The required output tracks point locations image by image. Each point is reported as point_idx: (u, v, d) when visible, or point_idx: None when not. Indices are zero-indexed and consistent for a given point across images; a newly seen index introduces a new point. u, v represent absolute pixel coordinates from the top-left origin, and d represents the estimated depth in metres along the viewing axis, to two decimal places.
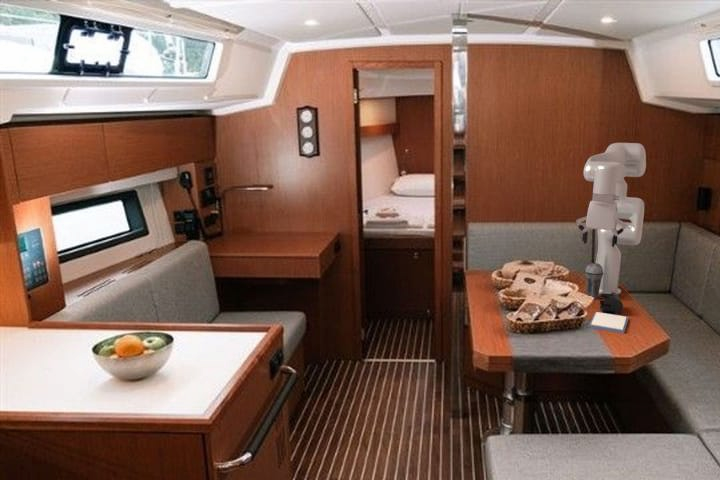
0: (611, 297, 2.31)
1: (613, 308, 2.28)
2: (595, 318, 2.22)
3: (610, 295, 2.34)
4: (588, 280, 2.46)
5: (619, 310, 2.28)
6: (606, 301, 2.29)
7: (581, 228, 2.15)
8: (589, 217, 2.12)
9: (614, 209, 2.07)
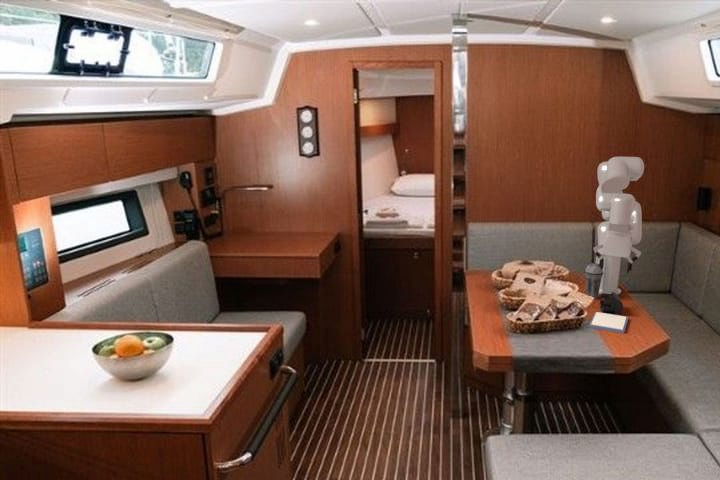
0: (611, 297, 2.31)
1: (613, 308, 2.28)
2: (595, 318, 2.22)
3: (610, 295, 2.34)
4: (588, 280, 2.46)
5: (619, 310, 2.28)
6: (606, 301, 2.29)
7: (598, 255, 2.31)
8: (606, 245, 2.27)
9: (629, 238, 2.23)
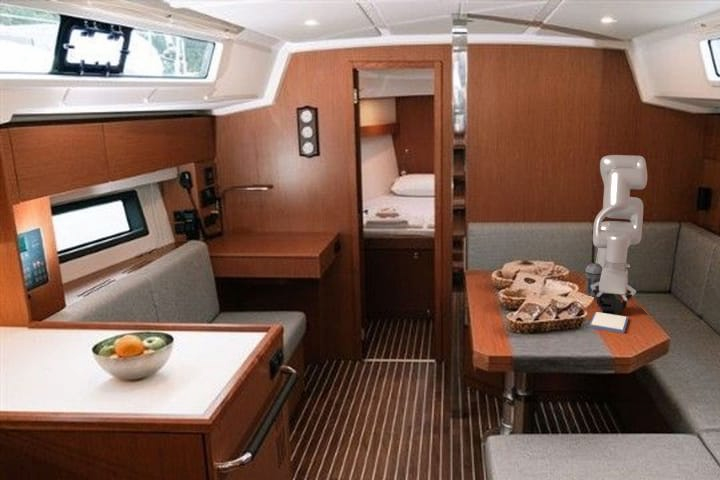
0: (611, 297, 2.31)
1: (613, 308, 2.28)
2: (595, 318, 2.22)
3: (610, 295, 2.34)
4: (588, 280, 2.46)
5: (619, 310, 2.28)
6: (606, 301, 2.29)
7: (595, 292, 2.34)
8: (602, 282, 2.31)
9: (625, 276, 2.26)
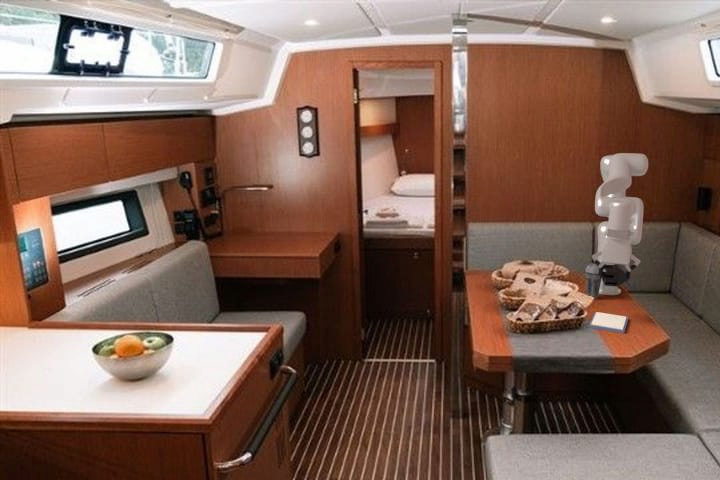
0: (614, 268, 2.18)
1: (616, 279, 2.15)
2: (595, 318, 2.22)
3: (613, 266, 2.20)
4: (588, 280, 2.46)
5: (622, 281, 2.14)
6: (608, 271, 2.15)
7: (597, 263, 2.20)
8: (604, 252, 2.17)
9: (629, 245, 2.13)
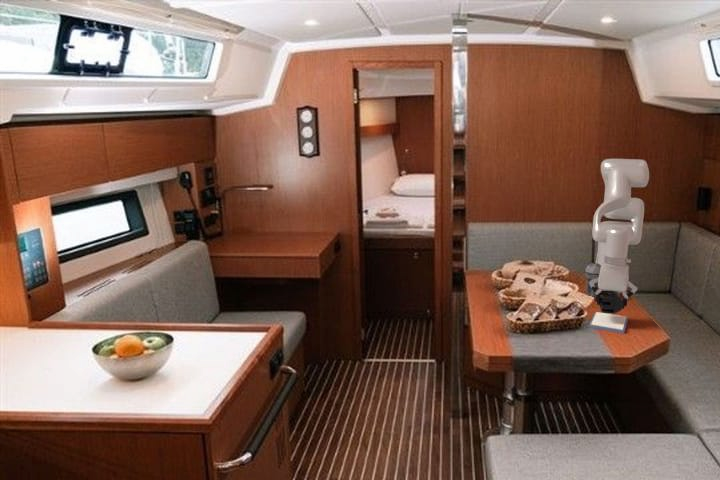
0: (611, 294, 2.17)
1: (613, 306, 2.14)
2: (595, 318, 2.22)
3: (610, 292, 2.19)
4: (588, 280, 2.46)
5: (619, 308, 2.13)
6: (605, 298, 2.14)
7: (594, 290, 2.19)
8: (601, 279, 2.16)
9: (626, 272, 2.12)
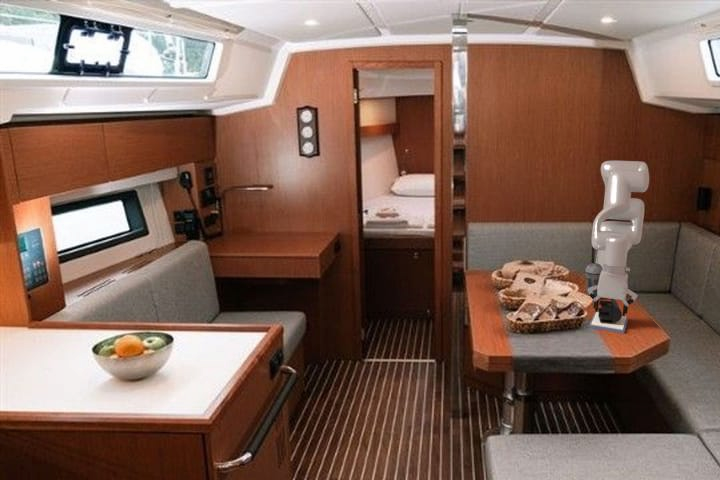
0: (610, 305, 2.18)
1: (611, 316, 2.15)
2: (595, 318, 2.22)
3: (609, 302, 2.21)
4: (588, 280, 2.46)
5: (618, 319, 2.14)
6: (604, 309, 2.16)
7: (592, 296, 2.20)
8: (601, 287, 2.17)
9: (625, 280, 2.13)
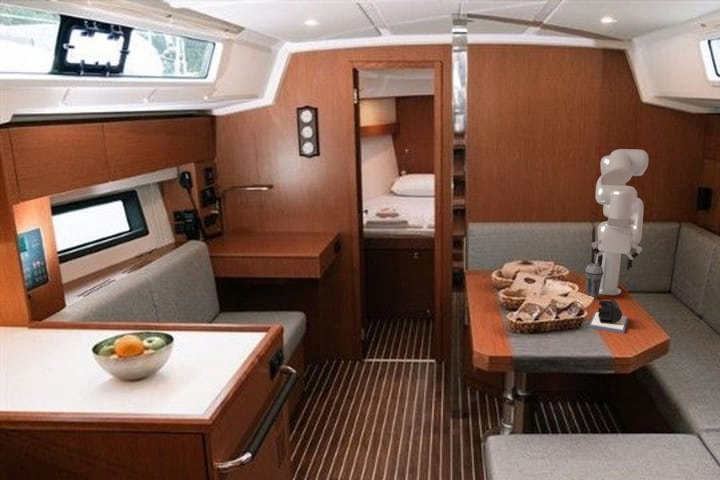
0: (610, 305, 2.18)
1: (611, 316, 2.15)
2: (595, 318, 2.22)
3: (609, 302, 2.21)
4: (588, 280, 2.46)
5: (618, 319, 2.14)
6: (604, 309, 2.16)
7: (596, 251, 2.19)
8: (605, 241, 2.15)
9: (629, 234, 2.11)
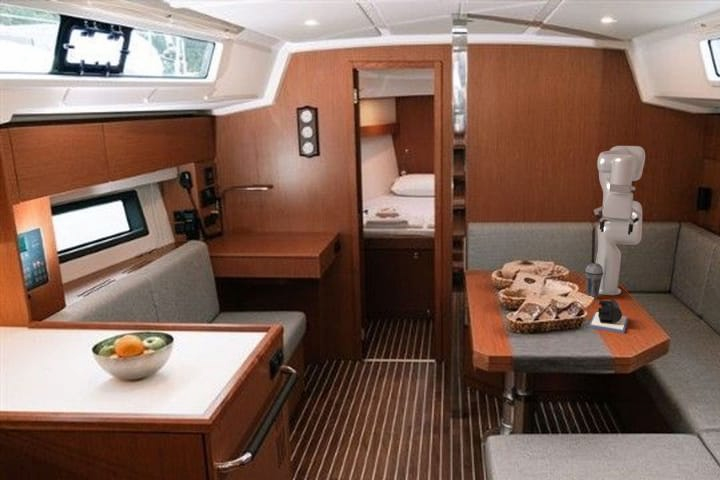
0: (610, 305, 2.18)
1: (611, 316, 2.15)
2: (595, 318, 2.22)
3: (609, 302, 2.21)
4: (588, 280, 2.46)
5: (618, 319, 2.14)
6: (604, 309, 2.16)
7: (598, 217, 2.27)
8: (607, 207, 2.24)
9: (630, 199, 2.19)
